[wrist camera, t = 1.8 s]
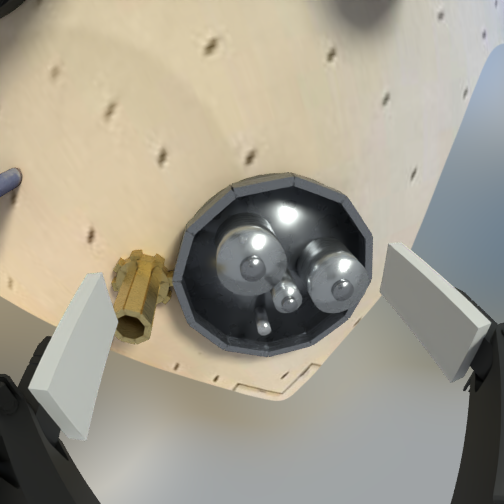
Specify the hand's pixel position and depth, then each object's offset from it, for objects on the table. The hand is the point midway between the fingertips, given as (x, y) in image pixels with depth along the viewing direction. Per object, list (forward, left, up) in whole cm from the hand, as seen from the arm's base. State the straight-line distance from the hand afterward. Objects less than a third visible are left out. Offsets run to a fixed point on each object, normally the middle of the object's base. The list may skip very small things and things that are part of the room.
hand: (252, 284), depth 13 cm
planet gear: (-6, -15, -22) cm, 27 cm away
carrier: (+10, -9, -22) cm, 25 cm away
